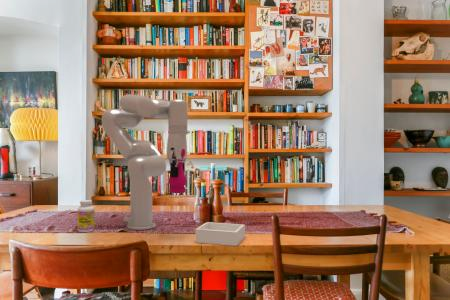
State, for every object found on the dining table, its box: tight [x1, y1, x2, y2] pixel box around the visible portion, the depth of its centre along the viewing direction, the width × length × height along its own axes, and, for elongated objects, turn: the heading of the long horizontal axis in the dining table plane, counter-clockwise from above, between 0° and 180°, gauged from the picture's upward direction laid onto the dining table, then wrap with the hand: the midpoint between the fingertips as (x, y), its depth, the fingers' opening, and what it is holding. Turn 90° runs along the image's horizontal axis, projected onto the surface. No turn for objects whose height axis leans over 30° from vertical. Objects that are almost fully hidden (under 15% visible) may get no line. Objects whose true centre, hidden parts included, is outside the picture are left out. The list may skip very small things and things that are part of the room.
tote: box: [194, 221, 246, 247], centre depth 140 cm, size 16×13×5 cm
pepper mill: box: [168, 149, 188, 194], centre depth 144 cm, size 7×7×20 cm
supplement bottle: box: [77, 199, 95, 233], centre depth 153 cm, size 7×7×13 cm
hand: (177, 175), depth 144 cm, fingers closed on pepper mill, 5 cm apart
